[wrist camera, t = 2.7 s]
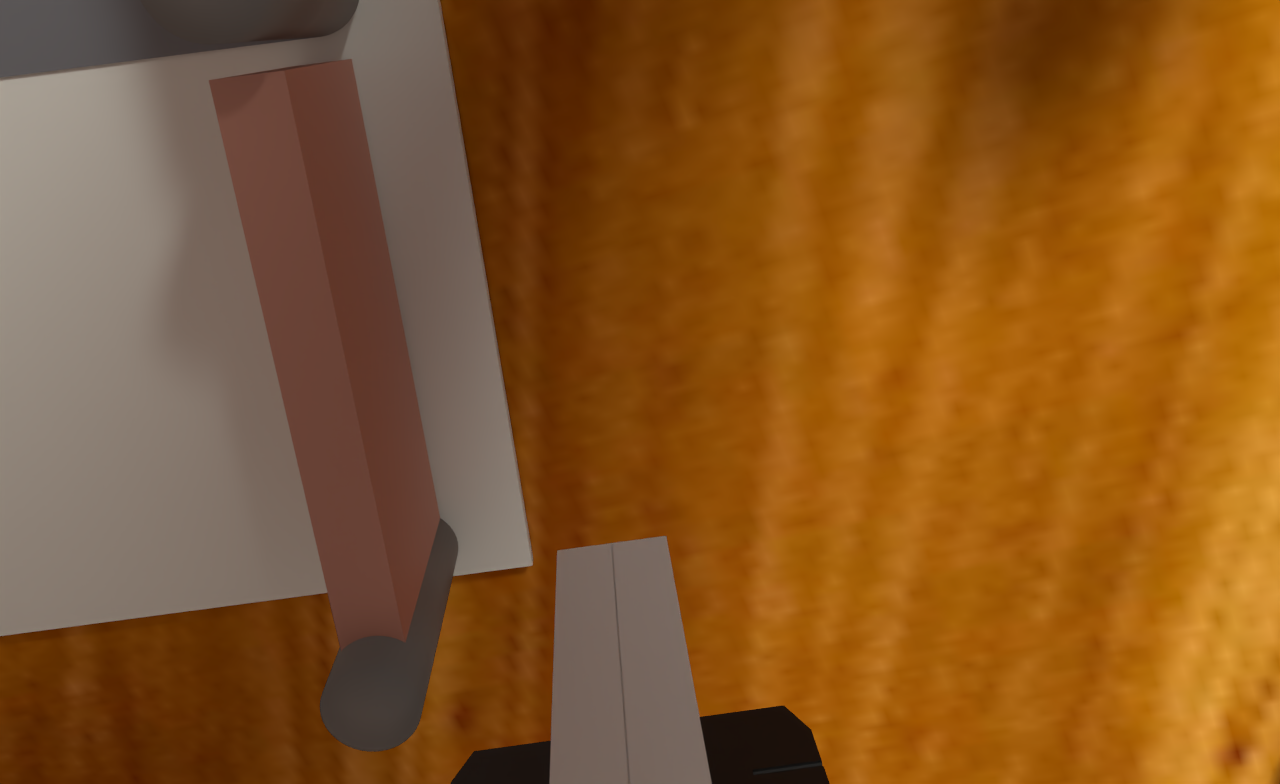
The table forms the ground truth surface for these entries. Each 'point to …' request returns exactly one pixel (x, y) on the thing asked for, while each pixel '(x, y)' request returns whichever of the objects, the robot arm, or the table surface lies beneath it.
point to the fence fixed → (250, 19)
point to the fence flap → (343, 385)
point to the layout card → (208, 317)
